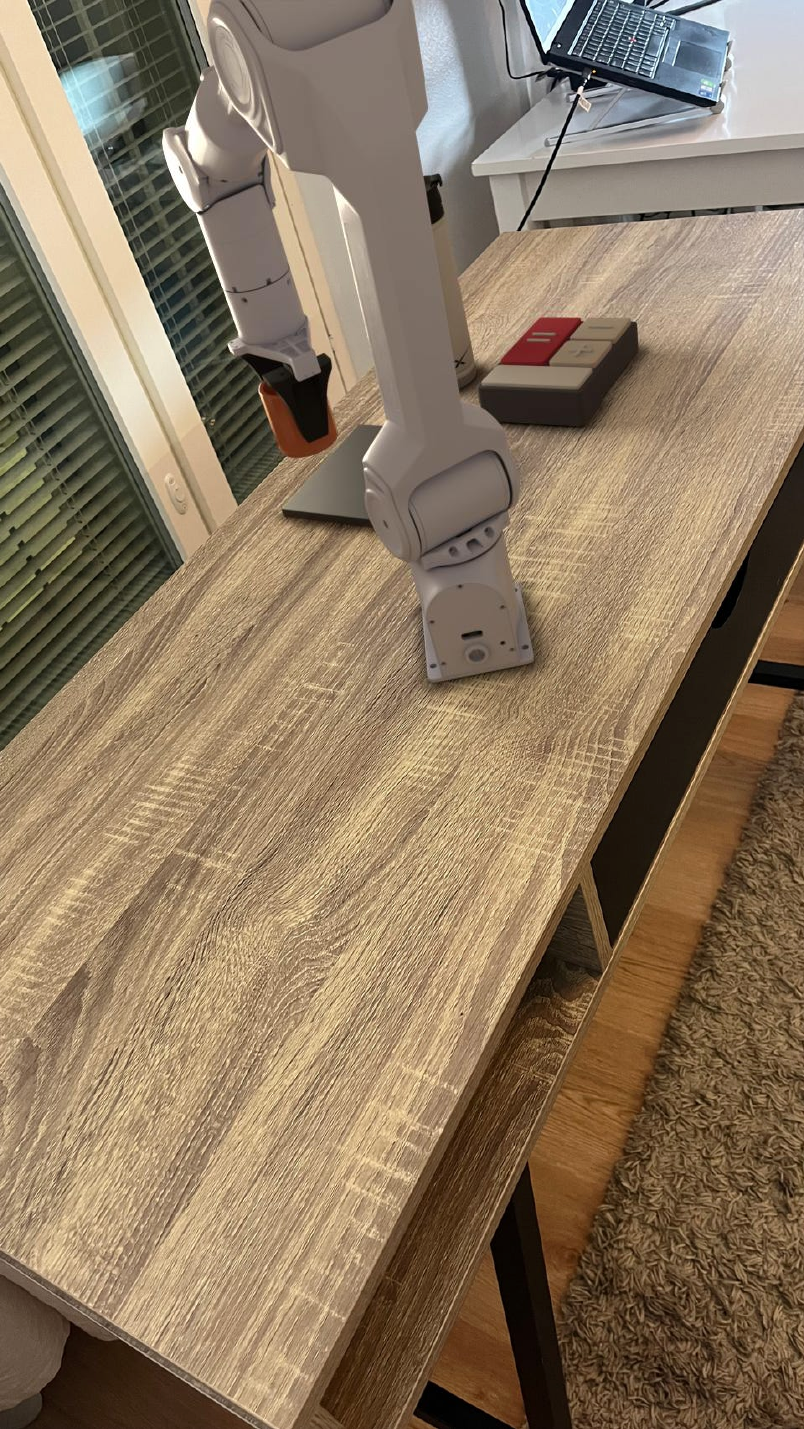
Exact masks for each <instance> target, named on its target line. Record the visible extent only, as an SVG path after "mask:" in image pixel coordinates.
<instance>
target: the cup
mask: <svg viewBox="0 0 804 1429" xmlns="http://www.w3.org/2000/svg"><path fill="white" fill-rule="evenodd" d="M258 394H259V397H260V399H261V402H262V405H263V408H264V411H265V413H266V414H265V415H266V416H267V419H268V422H269V426H270V428H271V430H272V433H273V436H274V439H275V442H276V444H277V446H278V449H279V451H280V453H281V454H282V455H283V456H285V457H287V458H292V459H303V458H309V457H312V456H315V455H318V454H321V453H322V452H324V451H325V450H327V449H329V448H330V447H331V446H333V444H335V442H337V439H338V437H339V430H338V428H337V422H336V419H335V417H334V413H333V409H332V407H331V404H330V400H329V397H328V396H327V408H328V422H329V434H328V435H326V436H324V437H322V438H320V439H318V440H315V441H313V442H311V443H308V442H307V441H306V440H305V439H304V438H303V436H302V435H301V433H300V431H299V430H298V428H297V426H296V424H295V422H294V420H293V418H292V416H291V414H290V412H289V410H288V408H287V407H286V405H285V403H284V402H283V400H282V399H281V398H280V396H279V395H278V394H277V393H276V391H275V390H274V389H273V388H271V387H270V386H269V385H268V384H267V383H266V382H265V381H264V380H263V382H260V383H259V385H258Z"/></svg>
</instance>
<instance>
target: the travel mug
mask: <svg viewBox="0 0 804 1429" xmlns="http://www.w3.org/2000/svg"><path fill="white" fill-rule="evenodd" d="M423 177H424V183H425V189H426V195H427V201H428V207H429V213H430V219H431V225H432V231H433V237H434V243H435V249H436V256H437V262H438V268H439V274H440V280H441V286H442V292H443V298H444V304H445V310H446V316H447V322H448V328H449V334H450V340H451V346H452V352H453V358H454V364H455V370H456V376H457V382H458V388H459V390H460V389H462V388H465V387H466V386H467V385H469V384H470V383H471V382H473V380H474V379H475V378H476V375H477V372H478V371H477V366H476V361H475V355H474V351H473V346H472V340H471V336H470V331H469V326H468V320H467V315H466V311H465V305H464V301H463V295H462V291H461V287H460V281H459V280H460V279H459V275H458V272H457V271H458V270H457V267H456V260H455V255H454V251H453V247H452V240H451V237H450V231H449V226H448V222H447V218H446V217H447V216H446V211H445V210H444V205H443V204H442V203H443V199H442V196H441V193H440V190H439V188H442V187H443V185H444V182H443V179H442V176H441V174H440V173H435V174H431V175H430V174H429V175H426V174H425V175H423ZM438 186H439V187H438Z"/></svg>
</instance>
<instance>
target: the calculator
mask: <svg viewBox="0 0 804 1429" xmlns="http://www.w3.org/2000/svg"><path fill="white" fill-rule="evenodd" d="M639 347H640V344H639V330H638V323H637V321H632V320H631V318H630V317H587V318H585V319H584V320H582V318H581V317H566V316H565V317H562V316H561V317H557V316H555V317H554V316H553V317H551V316H550V317H549V316H548V317H547V316H543V317H539V318H538V319H536V320H535V321H534V323H533V324H532V325H531V326H530V327H529V328H528V329H527V330H526V331H525V332H524V333H523V334H522V336H520V338H519V339H517V341H516V342H515V344H513V345H512V346H511V347H510V348H509V350H508V351H507V352H506V353H505V354H504V355H503V356H502V357H501V358H500V361H499V362H498V363H497V364H496V366H494V367H493V369H492V370H491V371H490V372H489V373H488V374H487V375H486V376H485V377H484V378H483V379H482V381H480V382H479V384H478V385H477V386H476V390H477V396H478V402H479V407H481V408H483V409H484V410H486V411H487V412H488V413H490V414H491V415H492V416H493V417H494V418H495V419H496V420H497V421H498V422H499V423H500V422H503V423H517V424H518V423H519V424H532V425H533V424H534V425H535V424H536V425H549V426H550V425H552V426H567V427H585V426H587V424H588V423H589V421H590V420H591V419H592V418H593V417H594V415H595V414H596V413H597V411H598V410H599V409H600V407H601V403H602V400H603V397H604V396H605V394H606V393H607V392H608V391H609V389H610V388H611V387H612V386H613V384H614V383H615V382H616V380H617V379H618V378H619V377H620V375H621V374H622V373H623V371H624V370H625V368H626V367H627V366H628V364H630V362H631V361H632V360H633V358H634V357H635V355H637V353H638V352H639V350H640V348H639Z"/></svg>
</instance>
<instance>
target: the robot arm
mask: <svg viewBox="0 0 804 1429" xmlns="http://www.w3.org/2000/svg"><path fill="white" fill-rule="evenodd" d="M206 36H207V37H206V38H207V42H208V47H209V52H210V56H211V59H212V62H213V64H212V65H210V66H207V67H206V68H203V69H202V71H201V73H200V77H199V79H200V81H201V82H200V83H199V86H198V89H197V91H196V94H195V97H194V100H193V103H192V105H191V108H190V111H189V115H188V117H187V120H186V123H185V124H183V125H180V126H179V127H173V126H172V127H168V128H165V129H163V131H162V149H163V154H164V157H165V160H166V163H167V167H168V170H169V172H170V174H171V177H172V180H173V182H174V184H175V186H176V188H177V190H178V192H179V194H180V195H181V197H182V199H183V200H184V202H185V203H186V205H187V206H188V207H189V208H190V209H191V210H192V211H193V212H194V213H195V215H196V216H197V220H198V223H199V225H200V228H201V231H202V234H203V237H204V240H205V243H206V245H207V248H208V252H209V254H210V257H211V259H212V263H213V265H214V268H215V271H216V273H217V276H218V279H219V283H220V285H221V287H222V290H223V292H224V296H225V298H226V301H227V305H228V308H229V310H230V313H231V316H232V319H233V321H234V324H235V328H236V329H237V332H238V333H237V334H238V336H237V337H236V338H234V339H232V340H230V341H228V342H227V346H228V349H229V351H230V353H231V354H232V355H233V356H234V357H240V358H242V360H244V361H245V362H246V363H247V364H248V365H249V367H250V368H251V369H252V370H253V372H254V373H255V375H256V376H257V377H258V379H259V380H260V383H262V382H263V380H264V381H265V382H266V383H267V384H268V385H269V386H270V387H271V388H273V389H274V390H275V391H276V393H277V394H278V395H279V396H280V398H281V399H282V400H283V402H284V403H285V405H286V407H287V408H288V410H289V412H290V414H291V416H292V418H293V420H294V422H295V424H296V426H297V428H298V430H299V431H300V433H301V435H302V436H303V438H304V439H305V440H306V441H307V442H308V443H311V442H313V441H315V440H318V439H320V438H322V437H324V436H326V435H328V434H329V422H328V408H327V397H328V388H329V382H330V377H331V374H332V370H333V362H332V358H331V357H330V356H329V355H328V354H327V353H325V352H322V353H320V354H318V355H317V354H316V351H315V349H314V348H313V347H312V346H313V345H312V332H311V331H312V330H311V323H310V320H309V318H308V315H307V314H306V313H305V312H304V309H303V305H302V303H301V299H300V295H299V293H298V292H299V291H298V289H297V286H296V283H295V278H294V276H293V274H292V270H291V267H290V263H289V260H288V256H287V253H286V249H285V246H284V244H283V240H282V237H281V234H280V230H279V227H278V224H277V221H276V218H275V214H274V212H273V210H274V209H275V207H277V204H276V196H275V193H274V188H273V186H272V185H273V184H272V171H271V163H270V158H269V153H268V151H269V150H270V151H271V152H272V153H274V154H275V155H276V156H277V157H278V158H279V160H280V161H281V163H283V164H284V165H285V167H286V168H287V169H288V170H289V171H290V172H295V173H302V174H303V173H304V174H308V175H310V174H311V175H317V176H318V175H319V176H324V177H325V178H327V180H328V181H329V182H330V184H331V186H332V188H333V193H334V198H335V201H336V205H337V211H338V214H339V220H340V223H341V227H342V228H341V229H342V231H343V232H342V233H343V238H344V241H345V245H346V249H347V253H348V258H349V263H350V268H351V272H352V276H353V281H354V285H355V289H356V293H357V298H358V303H359V306H360V310H361V315H362V320H363V324H364V329H365V332H366V337H367V341H368V342H367V343H368V346H369V351H370V355H371V359H372V364H373V368H374V372H375V377H376V381H377V386H378V389H379V394H380V398H381V402H382V407H383V412H384V416H385V420H384V423H383V425H382V426H383V427H382V428H381V430H380V432H379V433H378V435H377V436H376V438H375V439H374V441H373V443H372V444H371V446H370V447H369V449H368V451H367V453H366V454H365V456H364V458H363V460H362V462H363V466H364V477H365V484H366V492H365V506H366V510H367V513H368V516H369V518H370V521H371V523H372V525H373V527H372V528H373V529H374V531H375V534H376V535H377V537H378V538H379V541H380V542H381V543H382V545H383V546H384V547H385V549H386V550H387V551H388V552H389V553H390V554H391V555H392V556H393V557H394V558H396V559H398V560H401V561H403V562H405V563H407V564H408V565H409V569H410V572H411V576H412V579H413V582H414V586H415V590H416V593H417V597H418V600H419V603H420V607H421V614H422V627H423V637H424V650H425V660H426V672H427V673H426V675H427V679H428V681H429V682H430V683H431V684H434V683H435V684H436V683H440V682H441V683H442V682H445V681H451V680H456V679H460V678H465V677H470V676H475V675H480V674H485V673H488V672H496V671H500V670H504V669H509V668H514V667H519V666H524V665H529V664H531V663H533V662H534V661H535V655H534V650H533V645H532V639H531V634H530V630H529V624H528V620H527V615H526V610H525V604H524V598H523V594H522V590H521V589H522V588H521V585H520V584H519V583H518V582H517V583H516V582H514V578H513V573H512V568H511V563H510V558H509V554H508V548H507V543H506V538H505V533H504V530H505V529H506V528H507V527H508V526H510V525H511V518H510V514H509V510H511V509H513V508H514V507H516V505H517V504H518V503H519V500H520V492H521V478H520V477H521V476H520V473H519V470H518V466H517V463H516V461H515V459H514V457H513V454H512V453H511V450H510V448H509V444H508V440H507V439H508V438H507V434H506V431H505V428H504V427H503V426H502V425H501V424H500V422H499V421H497V420H496V419H495V418H494V417H493V416H492V415H491V414H490V413H488V412H487V411H486V410H484V409H483V408H481V407H480V405H476V404H474V403H471V402H468V401H464V400H461V394H460V389H459V388H458V382H457V376H456V370H455V364H454V358H453V352H452V346H451V340H450V334H449V328H448V322H447V316H446V310H445V304H444V298H443V292H442V286H441V280H440V274H439V268H438V262H437V256H436V249H435V243H434V237H433V231H432V225H431V219H430V213H429V207H428V201H427V195H426V189H425V183H424V177H423V176H424V172H423V165H422V160H421V154H420V148H419V142H418V137H417V130H418V129H419V127H420V125H421V123H422V122H423V120H424V118H425V116H426V114H428V113H427V112H428V111H429V104H428V96H427V89H426V77H425V70H424V66H423V58H422V53H421V45H420V38H419V33H418V27H417V20H416V13H415V7H414V4H413V0H210V4H209V7H208V13H207V17H206Z"/></svg>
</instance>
